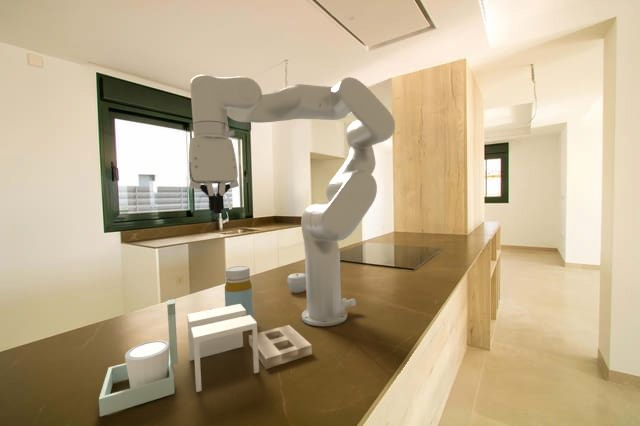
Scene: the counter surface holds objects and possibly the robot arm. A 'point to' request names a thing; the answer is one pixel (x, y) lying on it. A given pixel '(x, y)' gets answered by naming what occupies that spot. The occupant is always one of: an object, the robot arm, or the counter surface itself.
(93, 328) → the counter surface
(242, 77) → the robot arm
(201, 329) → the tunnel
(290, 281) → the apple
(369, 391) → the counter surface
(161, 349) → the white cup
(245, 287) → the bottle
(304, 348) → the board
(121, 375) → the slider
